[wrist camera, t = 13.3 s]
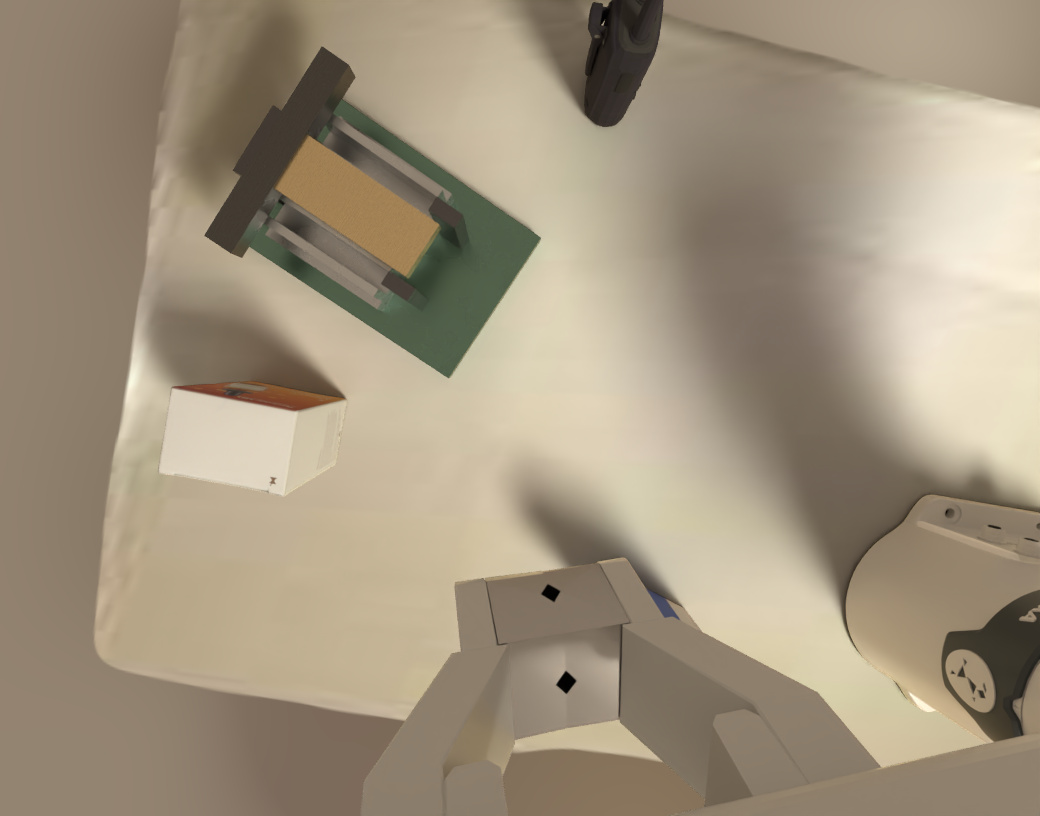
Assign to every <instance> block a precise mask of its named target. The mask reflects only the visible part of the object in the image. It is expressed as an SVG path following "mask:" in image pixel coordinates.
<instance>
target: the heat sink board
mask: <svg viewBox="0 0 1040 816" xmlns="http://www.w3.org/2000/svg"><path fill="white" fill-rule="evenodd" d="M280 113H281V110H279V109H278V108H276V107H275V106H272V108H271V109H270V111H269V113H268V114H267V116H266V118H265V119H264V121H263V122H262V124H261V126H260V127H259V129H258V130H257V132H256V134H255V135H254V137H253V138H252V140H251V142H250V143H249V145H248V146H247V148H246V150H245V151H244V153H243V155H242V156H241V158H240V159H239V161H238V163H237V164H236V166H235V167H234V169H233V171H235V172H236V173H237V174H239V175H240V176H242V174H243V172H244V171H245V169H246V168H247V166H248V164H249V163H250V161H251V160H252V158H253V156H254V155H255V153H256V152H257V150H258V148H259V147H260V145H261V144H262V142H263V140H264V139H265V137H266V136H267V134H268V132H269V131H270V129H271V127H272V126H273V124H274V123H275V121H276V119H277V118H278V116H279V115H280ZM316 141H318V142H319V143H321V144H322V145H324V146H325V147H326V148H328V149H329V150H331V151H332V152H334V153H335V154H337V155H338V156H340V157H341V158H343V159H344V160H346V161H347V162H348V163H350V164H351V165H353V166H354V167H356V168H357V169H359V170H360V171H362V172H363V173H365V174H366V175H368V176H369V177H371V178H372V179H373V180H375V181H376V182H378V183H379V184H381V185H382V186H384V187H385V188H387V189H388V190H390V191H391V192H393V193H394V194H395V195H397V196H398V197H400V198H401V199H403V200H404V201H406V202H407V203H409V204H410V205H412V206H413V207H415V208H416V209H417V210H419V211H420V212H422V213H423V214H425V215H426V216H428V217H429V218H431V219H432V220H434V221H435V222H437V223H438V224H439V225H440V227H441V230H440V231H439V233H438V235H437V236H436V238H435V239H434V241H433V242H432V244H431V245H430V247H429V248H428V250H427V252H426V253H425V255H424V256H423V258H422V259H421V261H420V262H419V264H418V265H417V267H416V269H415V270H414V272H413V273H412V275H411V276H410V278H409V279H408V278H406V277H405V276H403V275H402V274H400V273H399V272H397V271H396V270H394V269H393V268H391V267H390V266H388V265H387V264H385V263H384V262H382V261H381V260H379V259H378V258H376V257H375V256H373V255H372V254H370V253H369V252H368V251H366V250H365V249H363V248H362V247H360V246H359V245H357V244H356V243H354V242H353V241H351V240H350V239H348V238H347V237H345V236H344V235H342V234H341V233H339V232H338V231H336V230H335V229H333V228H332V227H330V226H329V225H327V224H326V223H324V222H323V221H321V220H320V219H318V218H317V217H315V216H314V215H312V214H311V213H309V212H308V211H307V210H305V209H304V208H302V207H301V206H299V205H298V204H296V203H295V202H293V201H292V200H290V199H289V198H287V197H286V196H284V195H283V194H282V195H281V197H280V198H279V200H278V201H277V203H276V205H275V206H274V208H273V209H272V211H271V212H270V214H269V216H268V217H267V219H266V220H265V222H264V224H263V225H262V227H261V228H260V230H259V232H258V233H257V235H256V236H255V238H254V240H253V241H252V243H251V244H250V246H249V247H251V248H252V249H254V250H255V251H257V252H258V253H260V254H261V255H263V256H264V257H266V258H267V259H269V260H270V261H272V262H273V263H275V264H276V265H278V266H279V267H281V268H282V269H284V270H286V271H287V272H289V273H290V274H292V275H293V276H295V277H296V278H298V279H299V280H301V281H302V282H304V283H305V284H307V285H308V286H310V287H311V288H313V289H314V290H316V291H317V292H319V293H320V294H322V295H323V296H325V297H326V298H328V299H329V300H331V301H332V302H334V303H335V304H337V305H338V306H340V307H342V308H343V309H345V310H346V311H348V312H349V313H351V314H352V315H354V316H355V317H357V318H358V319H360V320H361V321H363V322H364V323H366V324H367V325H369V326H370V327H372V328H373V329H375V330H376V331H378V332H379V333H381V334H382V335H384V336H385V337H387V338H388V339H390V340H391V341H393V342H394V343H396V344H398V345H399V346H401V347H402V348H404V349H405V350H407V351H408V352H410V353H411V354H413V355H414V356H416V357H417V358H419V359H420V360H422V361H423V362H425V363H426V364H428V365H429V366H431V367H432V368H434V369H435V370H437V371H438V372H440V373H441V374H443V375H444V376H446V377H447V378H450V377H451V376H452V374H453V372H454V371H455V369H456V368H457V366H458V365H459V363H460V362H461V360H462V359H463V357H464V356H465V354H466V353H467V351H468V350H469V348H470V347H471V345H472V344H473V342H474V341H475V339H476V338H477V336H478V335H479V333H480V332H481V330H482V328H483V327H484V325H485V324H486V322H487V321H488V319H489V318H490V316H491V315H492V313H493V312H494V310H495V309H496V307H497V306H498V304H499V303H500V301H501V300H502V298H503V297H504V295H505V294H506V292H507V291H508V289H509V288H510V286H511V285H512V283H513V281H514V280H515V278H516V277H517V275H518V274H519V272H520V271H521V269H522V268H523V266H524V265H525V263H526V262H527V260H528V259H529V257H530V256H531V254H532V253H533V251H534V250H535V248H536V247H537V245H538V244H539V242H540V240H541V238H540V237H539V236H537V235H536V234H534V233H533V232H532V231H530V230H529V229H527V228H526V227H524V226H523V225H522V224H520V223H519V222H517V221H516V220H514V219H513V218H512V217H510V216H509V215H507V214H506V213H504V212H503V211H501V210H500V209H499V208H497V207H496V206H494V205H493V204H491V203H490V202H489V201H487V200H486V199H484V198H483V197H481V196H480V195H478V194H477V193H476V192H474V191H473V190H471V189H470V188H468V187H467V186H466V185H464V184H463V183H461V182H460V181H458V180H457V179H456V178H454V177H453V176H451V175H450V174H448V173H447V172H445V171H444V170H443V169H441V168H440V167H438V166H437V165H435V164H434V163H433V162H431V161H430V160H428V159H427V158H425V157H424V156H422V155H421V154H420V153H418V152H417V151H415V150H414V149H412V148H411V147H410V146H408V145H407V144H405V143H404V142H402V141H401V140H399V139H398V138H397V137H395V136H394V135H392V134H391V133H389V132H388V131H387V130H385V129H384V128H382V127H381V126H379V125H378V124H377V123H375V122H374V121H372V120H371V119H369V118H368V117H366V116H365V115H364V114H362V113H361V112H359V111H358V110H356V109H355V108H354V107H352V106H351V105H349V104H348V103H346V102H345V101H343V100H342V99H341V101H340V103H339V104H338V106H337V107H336V109H335V111H334V112H333V114H332V115H331V117H330V119H329V120H328V122H327V123H326V125H325V127H324V128H323V130H322V131H321V133H320V134H319V136H318V138H317V139H316Z"/></svg>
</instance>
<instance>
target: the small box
mask: <svg viewBox="0 0 1040 816" xmlns="http://www.w3.org/2000/svg"><path fill="white" fill-rule="evenodd" d="M346 403H347V399H345V398H339V397H333V396H326V395H321V394H315V393H310V392H305V391H300V390H295V389H290V388H286V387H281V386H275V385H270V384H265V383H260V382H255V381H245V382H230V383H218V384H201V385H189V386H174V387H172V388H171V394H170V400H169V406H168V412H167V419H166V425H165V431H164V437H163V443H162V449H161V456H160V462H159V467H158V472H159V473H160V474H167V475H174V476H181V477H187V478H193V479H199V480H204V481H210V482H215V483H221V484H226V485H231V486H237V487H242V488H247V489H252V490H257V491H262V492H266V493H270V494H274V495H278V496H285V495H287V494H288V493H290V492H292V491H293V490H295V489H297V488H298V487H300V486H301V485H303V484H305V483H306V482H308V481H310V480H311V479H313V478H314V477H316V476H318V475H319V474H321V473H323V472H324V471H326V470H327V469H329V468H331V467H332V466H334V465H335V464H336V460H337V454H338V448H339V443H340V437H341V432H342V426H343V420H344V415H345V409H346Z"/></svg>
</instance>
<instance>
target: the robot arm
mask: <svg viewBox="0 0 1040 816" xmlns="http://www.w3.org/2000/svg"><path fill="white" fill-rule="evenodd" d="M947 509H948V512H947V514H946V515H945V512H946V510H947ZM455 597H456V607H457V617H458V627H459V637H460V648H461V652H457V653H452V654H451V655H450V657H449V658H448V660H447V661H446V663H445V664H444V665H443V667H442V668H441V670H440V671H439V673H438V674H437V676H436V677H435V679H434V680H433V681H432V683H431V684H430V686H429V687H428V689H427V690H426V692H425V693H424V695H423V696H422V697H421V699H420V700H419V702H418V703H417V705H416V706H415V708H414V709H413V711H412V712H411V713H410V715H409V716H408V718H407V719H406V721H405V722H404V724H403V725H402V727H401V728H400V729H399V731H398V732H397V734H396V736H395V737H394V738H393V740H392V741H391V743H390V744H389V745H388V747H387V748H386V750H385V751H384V753H383V754H382V756H381V757H380V759H379V760H378V761H377V763H376V764H375V766H374V767H373V769H372V770H371V772H370V773H369V774H368V776H367V778H366V779H365V780H364V787H363V796H362V806H361V816H508V811H507V805H506V799H505V792H504V786H503V780H502V777H503V774H504V771H505V769H506V766H507V763H508V760H509V758H510V755H511V752H512V750H513V747H514V744H515V740H516V739H521V738H525V737H530V736H534V735H538V734H543V733H547V732H552V731H556V730H561V729H565V728H571V727H577V726H583V725H589V724H595V723H601V722H608V721H614V720H620V723H621V724H622V725H624V726H625V727H626V728H627V729H628V730H629V731H630V732H631V733H632V734H633V735H635V736H636V737H637V738H638V739H639V740H640V741H641V742H642V743H643V744H644V745H646V746H647V747H648V748H649V749H650V750H651V751H652V752H653V753H654V754H655V755H657V756H658V757H659V758H660V759H661V760H662V761H663V762H664V763H665V764H667V765H668V766H669V767H670V768H671V769H672V770H673V771H674V772H675V773H676V774H677V775H679V776H680V777H681V778H682V779H683V780H684V781H685V782H686V783H687V784H688V785H689V786H691V787H692V788H693V789H694V790H695V791H696V792H697V793H698V794H699V795H700V796H702V797H703V798H704V799H705V805H704V808H699V809H695V810H690V811H686V812H681V813H677V814H673V815H668V816H1040V512H1034V511H1028V510H1022V509H1016V508H1010V507H1004V506H998V505H993V504H987V503H981V502H975V501H969V500H963V499H957V498H951V497H945V496H939V495H926V496H924V497H922V498H921V499H920V500H919V501H918V502H917V503H916V504H915V506H914V507H913V508H912V510H911V511H910V513H909V514H908V516H907V517H906V519H905V520H904V522H903V523H902V524H901V525H899V526H898V527H897V528H896V529H894V530H893V531H891V532H890V533H888V534H887V535H885V536H884V537H883V538H881V539H880V540H879V541H878V542H877V543H875V544H874V545H873V546H872V547H871V548H870V549H869V550H868V552H867V553H866V554H865V555H864V557H863V558H862V559H861V561H860V562H859V564H858V566H857V568H856V569H855V571H854V574H853V576H852V578H851V581H850V584H849V588H848V592H847V598H846V620H847V625H848V630H849V633H850V636H851V638H852V640H853V642H854V644H855V646H856V648H857V650H858V651H859V652H860V654H861V655H862V656H863V658H864V659H865V660H866V661H867V662H868V663H869V664H870V665H872V666H873V667H874V668H875V669H877V670H878V671H880V672H882V673H883V674H885V675H886V676H888V677H890V678H891V679H892V680H894V681H895V682H896V683H897V684H898V686H899V687H900V689H901V691H902V692H903V694H904V695H905V697H906V698H907V699H908V700H909V701H910V702H911V703H912V704H913V705H915V706H916V707H918V708H919V709H921V710H923V711H925V712H932V711H938V712H939V713H941V714H942V715H944V716H945V717H947V718H948V719H950V720H951V721H953V722H954V723H956V724H957V725H959V726H960V727H962V728H963V729H965V730H966V731H968V732H969V733H971V734H972V735H974V736H975V737H977V738H978V739H980V740H981V741H983V742H985V743H986V744H984V745H979V746H975V747H970V748H966V749H961V750H957V751H953V752H948V753H944V754H939V755H935V756H930V757H926V758H921V759H917V760H912V761H908V762H904V763H899V764H895V765H890V766H886V767H881V766H880V765H879V764H878V763H877V762H876V761H875V759H874V758H873V757H872V756H871V755H870V754H869V752H868V751H867V750H866V749H865V748H864V746H863V745H862V744H861V743H860V742H859V741H858V739H857V738H856V737H855V736H854V735H853V734H852V732H851V731H850V730H849V729H848V728H847V726H846V725H845V724H844V723H843V722H842V721H841V719H840V718H839V717H838V716H837V715H836V714H835V712H834V711H833V710H832V709H831V708H830V706H829V705H828V704H827V703H826V702H825V701H824V699H823V698H822V697H821V696H820V695H819V694H818V692H816V691H814V690H812V689H810V688H808V687H806V686H804V685H802V684H800V683H798V682H797V681H795V680H793V679H791V678H789V677H787V676H785V675H783V674H781V673H779V672H777V671H776V670H774V669H772V668H770V667H768V666H766V665H764V664H762V663H760V662H758V661H756V660H755V659H753V658H751V657H749V656H747V655H745V654H743V653H741V652H739V651H737V650H735V649H734V648H732V647H730V646H728V645H726V644H724V643H722V642H720V641H718V640H716V639H714V638H713V637H711V636H709V635H707V634H705V633H703V632H701V631H699V630H697V629H695V628H694V627H692V626H690V625H688V624H686V623H684V622H682V621H680V620H678V619H676V618H674V617H667V618H664V616H663V615H662V613H661V612H660V610H659V609H658V607H657V605H656V604H655V602H654V601H653V599H652V598H651V596H650V594H649V593H648V591H647V590H646V588H645V586H644V585H643V583H642V582H641V580H640V579H639V577H638V575H637V574H636V572H635V571H634V569H633V568H632V566H631V564H630V563H629V561H628V560H627V559H625V558H623V557H622V558H616V559H610V560H605V561H599V562H596V563H593V564H587V565H580V566H574V567H567V568H561V569H554V570H548V571H537V572H529V573H520V574H512V575H504V576H496V577H488V578H485V580H484V579H483V578H481V579H474V580H467V581H460V582H455Z"/></svg>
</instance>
